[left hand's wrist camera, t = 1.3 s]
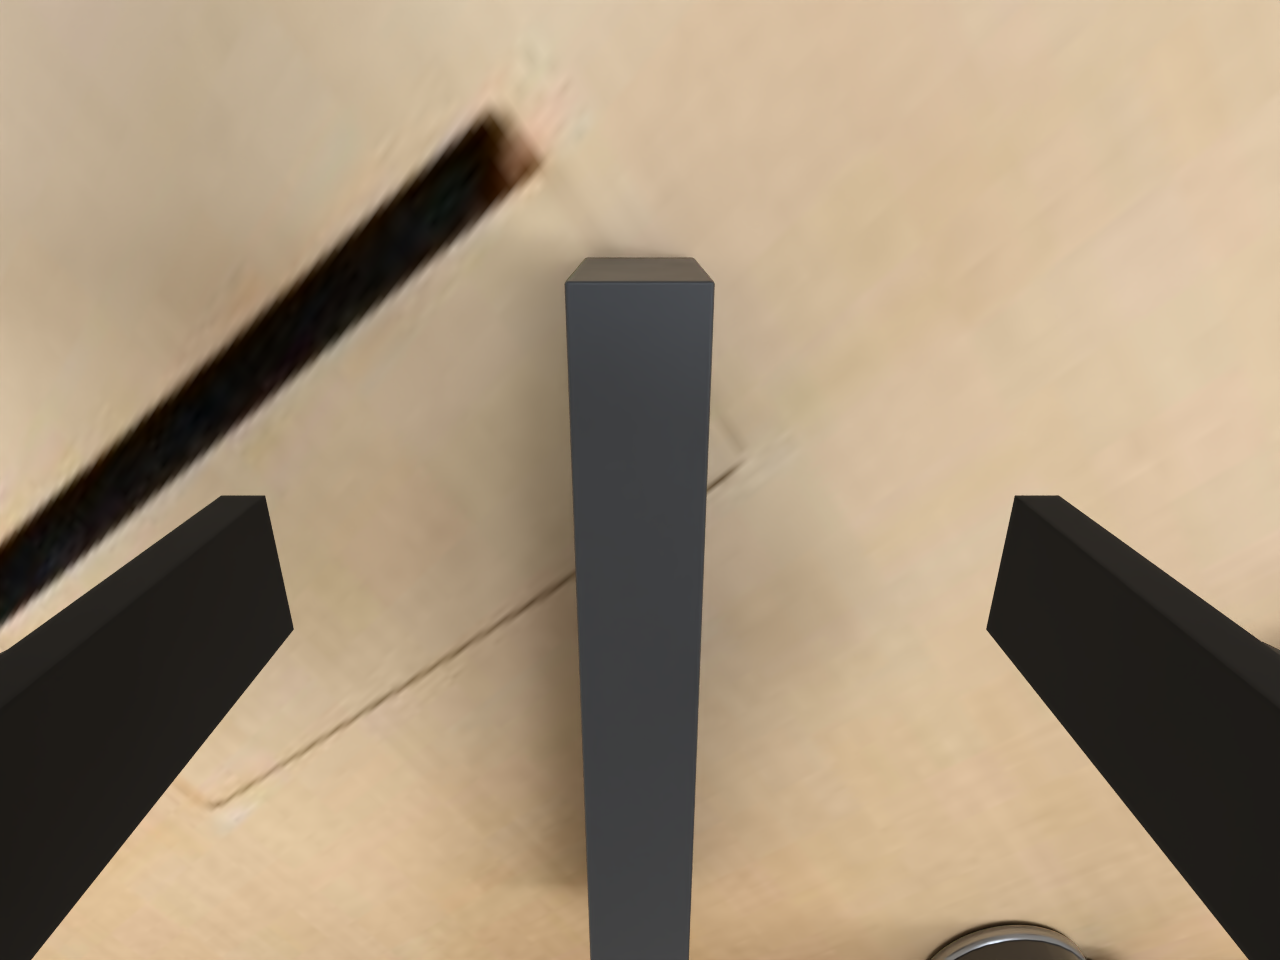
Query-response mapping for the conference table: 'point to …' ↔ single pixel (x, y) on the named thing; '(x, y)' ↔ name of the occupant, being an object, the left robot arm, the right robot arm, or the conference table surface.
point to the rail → (639, 585)
